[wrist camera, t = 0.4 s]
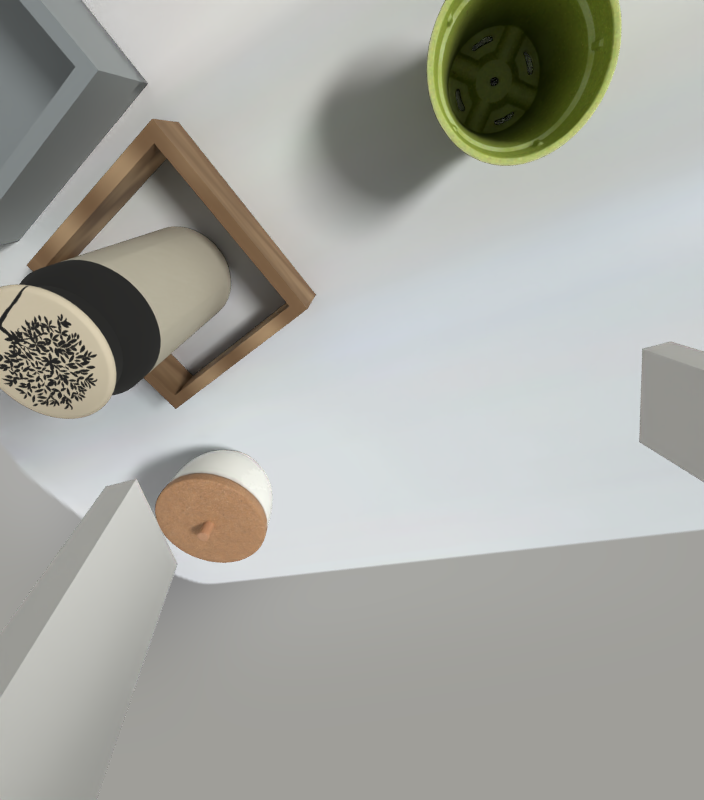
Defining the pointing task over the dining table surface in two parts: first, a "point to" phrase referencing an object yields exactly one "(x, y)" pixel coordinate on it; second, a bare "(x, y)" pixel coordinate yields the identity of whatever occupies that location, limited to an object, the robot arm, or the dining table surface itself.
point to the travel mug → (106, 319)
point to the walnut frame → (224, 204)
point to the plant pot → (520, 73)
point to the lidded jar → (217, 507)
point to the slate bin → (53, 101)
